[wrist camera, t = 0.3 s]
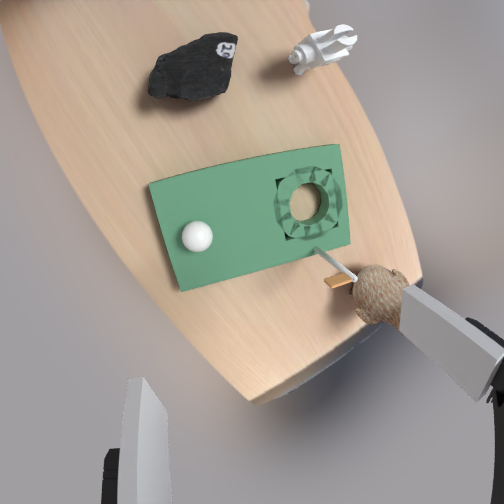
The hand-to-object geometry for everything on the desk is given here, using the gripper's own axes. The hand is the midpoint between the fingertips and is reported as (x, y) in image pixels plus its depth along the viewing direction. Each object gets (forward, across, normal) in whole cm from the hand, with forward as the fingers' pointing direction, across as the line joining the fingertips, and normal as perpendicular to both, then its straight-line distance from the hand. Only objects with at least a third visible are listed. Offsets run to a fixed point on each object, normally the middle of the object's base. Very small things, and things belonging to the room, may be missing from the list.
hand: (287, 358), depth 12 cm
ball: (+21, -3, +1) cm, 22 cm away
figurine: (+26, +20, -15) cm, 36 cm away
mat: (+26, +5, 0) cm, 26 cm away
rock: (+26, +1, +20) cm, 32 cm away
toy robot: (+26, +15, +19) cm, 36 cm away
